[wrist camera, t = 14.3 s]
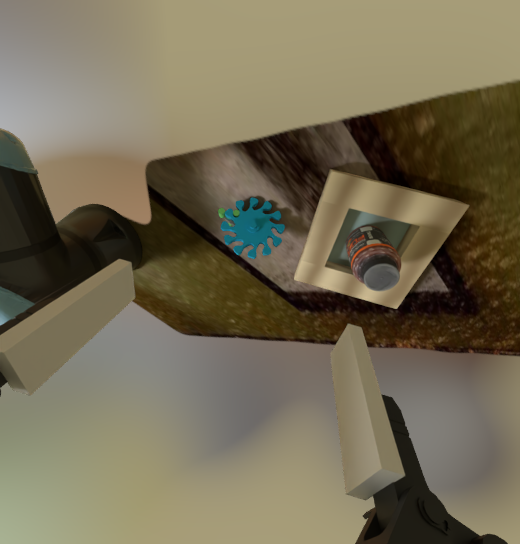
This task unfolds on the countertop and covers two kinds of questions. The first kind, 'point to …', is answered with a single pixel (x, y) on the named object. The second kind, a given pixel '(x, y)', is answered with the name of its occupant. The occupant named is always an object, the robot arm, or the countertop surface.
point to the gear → (251, 227)
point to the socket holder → (384, 215)
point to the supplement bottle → (373, 258)
